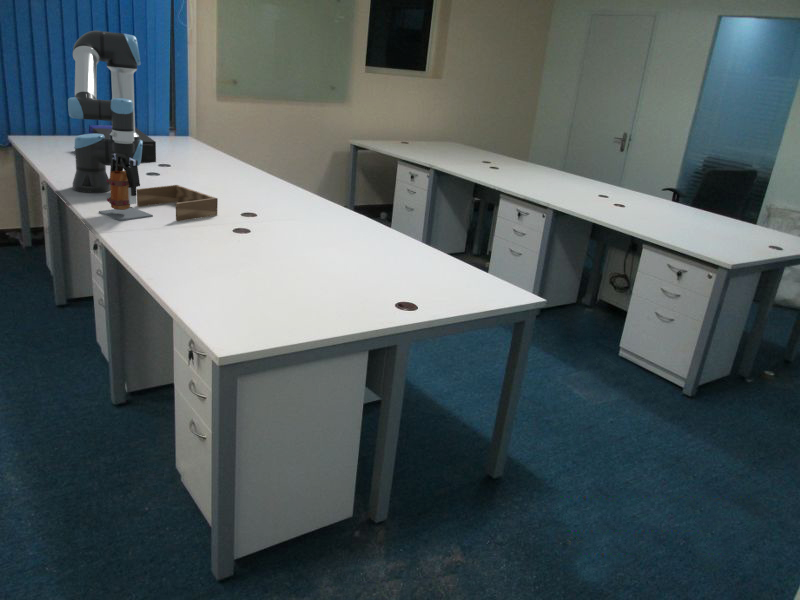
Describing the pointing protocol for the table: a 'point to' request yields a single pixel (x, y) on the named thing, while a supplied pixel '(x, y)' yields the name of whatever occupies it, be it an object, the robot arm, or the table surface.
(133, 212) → the rubber mat
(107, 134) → the headphone box
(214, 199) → the wooden boards
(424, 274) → the table surface
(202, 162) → the table surface
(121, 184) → the mug
